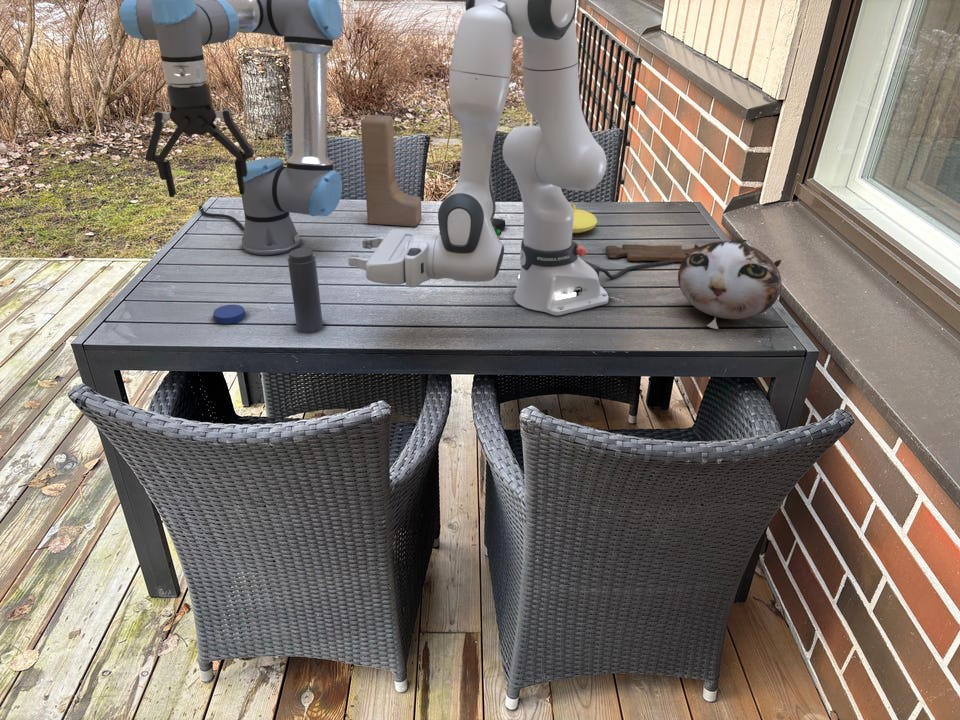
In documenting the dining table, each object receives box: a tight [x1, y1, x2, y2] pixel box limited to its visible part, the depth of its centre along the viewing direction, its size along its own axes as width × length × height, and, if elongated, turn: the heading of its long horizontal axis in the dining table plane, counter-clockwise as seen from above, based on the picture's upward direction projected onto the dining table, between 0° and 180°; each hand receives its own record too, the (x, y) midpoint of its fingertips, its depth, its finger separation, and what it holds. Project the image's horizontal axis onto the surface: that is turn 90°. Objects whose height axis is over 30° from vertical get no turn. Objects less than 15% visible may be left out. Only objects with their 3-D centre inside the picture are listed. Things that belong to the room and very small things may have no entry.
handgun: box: [491, 217, 506, 237], centre depth 207 cm, size 16×3×15 cm
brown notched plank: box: [605, 243, 694, 263], centre depth 194 cm, size 26×2×10 cm
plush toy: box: [677, 240, 783, 330], centre depth 159 cm, size 22×18×20 cm
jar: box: [287, 247, 324, 334], centre depth 152 cm, size 6×6×17 cm
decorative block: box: [360, 114, 423, 228], centre depth 206 cm, size 8×15×30 cm, turn 82°
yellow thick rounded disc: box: [570, 203, 598, 234], centre depth 209 cm, size 16×16×7 cm
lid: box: [212, 304, 246, 325], centre depth 160 cm, size 7×7×2 cm
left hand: (207, 193), depth 146 cm, fingers open, 13 cm apart
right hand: (356, 251), depth 146 cm, fingers open, 8 cm apart
